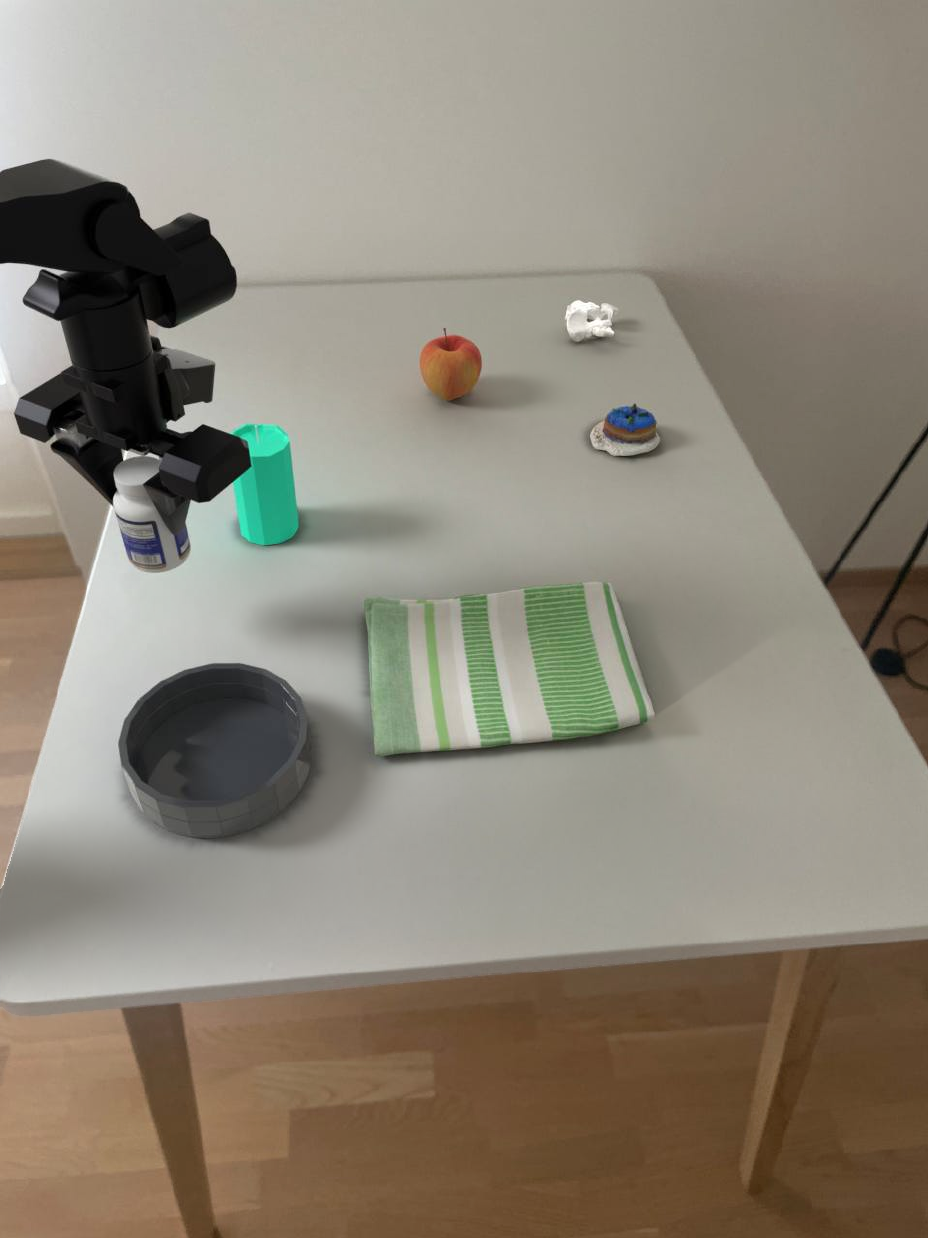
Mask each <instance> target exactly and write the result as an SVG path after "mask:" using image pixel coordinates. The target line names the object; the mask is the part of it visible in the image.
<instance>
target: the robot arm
mask: <svg viewBox="0 0 928 1238" xmlns="http://www.w3.org/2000/svg"><path fill="white" fill-rule="evenodd" d="M4 264H17V265H29V266H34V267H40V268H42V269H40V270H39V272H38V275H37V277H36V280H35V281H34V283H33V284H32V285H31V286H30V287H28V289H27V291H26V292H25V294H24V296H23V297H22V303H23V305H24V306H25V307H27V308H29V309H31V310H33V311H36V312H38V313H39V314H42V315H44V316H46V317H48V318H50V319H52V320H54V321H56V322H60V325H61V329H62V333H63V337H64V340H65V344H66V346H67V350H68V354H69V359H70V362H71V365H70V366H68V367H67V368H65V369H63V370H62V371H60V373H58V374H57V375H55V376H53V377H52V378H50V379H48V380H47V381H45V382H43V383H41V384H39V386H36V387H34V388H33V389H32V390H30V391H29V392H26V393H25V394H23V395H22V396H20V397H19V398H18V401H17V403H16V406H15V409H14V412H13V415H14V419H15V422H16V424H17V428H18V430H19V433H20V434H21V435H22V436H26V437H28V438H31V439H33V440H36V441H38V442H41V443H44V444H46V443H47V442H48V441H49V442H50V440H51V439H52V438H53V437H54V436H55V439H56V440H55V441H53V442H52V443H51V444H50V447H49V448H50V450H51V451H52V453H54V454H55V455H58V456H59V457H60V458H62V459H63V460H64V461H65V462H66V463H67V464H68V465H69V466H70V467H71V468H72V469H73V470H75V472H77V473H78V475H80V476H81V477H82V478H83V479H85V481H86V482H87V483H88V484H90V485H91V486H92V487H93V488H94V490H95V491H97V493H99V494H100V495H101V496H102V497H103V498H104V499H105V500H106V501H107V503H109V504H110V505H111V506H112V507H113V508H114V506H113V498H114V495H115V493H116V491H117V488H116V484H115V480H114V474H113V473H114V469H115V468H116V466H117V465H118V464H119V463H121V462H122V461H124V460H125V459H124V456H123V451H126V452H130V453H134V454H136V455H138V456H148V454H151V455H154V456H157V457H158V460H159V461H160V467H159V472H158V473H157V474H155V475H154V476H153V477H151V478H150V479H149V480H147V481H146V482H145V483H144V484H143V486H144V488H145V490H146V492H147V493H148V495H149V497H150V499H151V500H152V502H153V504H154V505H155V507H156V509H157V511H158V512H159V514H160V516H161V518H162V520H163V521H164V523H165V525H166V526H167V527H168V529H169V530H170V532H171V533H172V534H174V535H177V534H178V533H180V532H181V531H182V530H183V529H184V526H185V522H186V521H187V517H188V514H189V509H190V505H191V501H192V502H195V503H196V504H197V503H198V504H202V503H209V502H211V501H213V500H214V499H215V498H216V497H217V496H218V495H220V494H221V493H222V492H223V491H224V490H225V489H227V488H228V487H229V486H230V485H232V484H233V482H234V481H235V480H236V479H237V478H239V477H240V476H241V475H242V474H243V473H245V472H246V471H247V470H248V469H249V468H251V467H252V466H251V459H250V452H249V447H248V442H247V441H246V440H244V439H242V438H240V437H238V436H235V435H232V434H231V432H230V433H229V432H226V431H225V430H221V429H219V428H215V427H213V426H210V425H207V424H205V423H202V424H201V425H200V426H198V427H196V428H195V429H194V430H192V431H185V432H179V431H176V430H173V429H170V428H168V424H167V423H169V422H170V421H172V422H175V423H176V422H177V421H179V420H181V418H183V417H184V416H186V411H185V406H189V405H194V404H199V403H204V404H210V403H212V402H213V398H214V385H215V375H216V362H215V361H214V360H211V359H208V358H205V357H203V356H200V355H196V354H193V353H190V352H187V351H184V350H181V349H176V348H172V347H167V346H164V345H162V343H161V340H160V338H159V337H158V336H156V335H153V334H150V329H149V325H148V321H151V322H153V323H154V324H156V325H157V326H159V327H161V328H163V329H173V328H176V327H178V326H181V325H182V324H184V323H186V322H189V321H190V320H192V319H194V318H196V317H199V316H201V315H203V314H204V313H207V312H209V311H211V310H212V309H215V308H217V307H219V306H221V305H223V304H225V303H227V302H229V301H230V300H231V299H232V298H234V295H235V294H236V291H237V287H238V277H237V271H236V268H235V266H233V265H232V262H231V259H230V256H229V255H228V253H227V251H226V249H225V248H224V247H223V245H222V244H221V242H219V240H218V239H217V237H215V236H214V235H213V234H212V229H211V223H210V220H209V219H208V218H205V217H204V216H200V215H197V214H195V213H193V212H186V213H184V214H181V215H179V216H177V217H176V218H175V219H173V220H172V221H170V222H169V223H166V224H164V225H162V226H159V227H156V228H154V229H153V228H152V227H151V226H150V225H149V224H148V223H147V222H146V221H145V220H144V219H143V218H142V216H141V209H140V207H139V205H138V203H137V200H136V198H135V197H134V195H133V194H132V193H131V192H130V190H129V189H128V187H127V186H126V185H124V184H122V183H120V182H118V181H115V180H113V179H110V178H107V177H105V176H102V175H100V174H97V173H94V172H91V171H89V170H87V169H84V168H81V167H79V166H76V165H73V164H70V163H69V162H68V163H67V162H65V161H62V160H59V159H54V158H45V159H39V160H36V161H32V162H28V163H24V164H20V165H16V166H13V167H8V168H5V169H2V170H1V171H0V265H4ZM45 268H46V269H45ZM47 269H51V270H57V271H61V272H63V273H61V274H57V273H54V272H52V271H50V270H47ZM186 523H187V522H186Z"/></svg>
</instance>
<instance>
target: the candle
mask: <svg viewBox="0 0 928 1238" xmlns="http://www.w3.org/2000/svg"><path fill="white" fill-rule="evenodd" d="M230 434H232V435H235V436H238V437H240V438H242V439H244V440H246V441H247V442H248V447H249V452H250V459H251V466H252V467H251V468H249V469H248V470H247V471H246V472H245V473H243V474H242V475H241V476H240V477H239V478H237V479H236V480H235V481H234V482H233V483H232V486H233V492H234V498H235V504H236V511H237V517H238V523H239V529H240V535H241V536H242V537H243V538H245V540H247V541H248V542H249V543H253V544H257V545H261V546H269V545H277V544H282V543H284V542H286V541H288V540H290V539H291V538H294V536H295V534H296V533H297V531H298V530H299V528H300V524H299V514H298V505H297V496H296V495H297V494H296V487H295V478H294V477H295V476H294V469H293V468H294V466H293V460H292V448H291V441H290V437H289V434H288V433H286V431H285V430H283V428H282V427H281V426H279V425H278V424H261V423H244V424H242V425H241V426H239V427H237V428H235V429H233V430H232V431H231V432H230Z"/></svg>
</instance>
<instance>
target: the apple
mask: <svg viewBox="0 0 928 1238" xmlns="http://www.w3.org/2000/svg"><path fill="white" fill-rule="evenodd" d="M442 329H443V332H444V335H443V336H440V337H436V338H434V339H432V340H430V341H428V342H427V343H426V344H425V345H424V346H423V347H422V350H421V351H420V356H419V370H420V371H419V372H420V374H421V377H422V380H423V382H424V384H425V386H426V387H427V388H428V389H429V391H431V392H432V393H434V394H435V395H437V396H438V397H440V398H442V399H444V400H445V401H447V402H451V401H453V400H455V399H457V398H460V397H462V396H466V395H467V394H468V393H469V392H470V391H472V390H473V389H474V388H475V386H476V384H477V383H478V381H479V378H480V375H481V373H482V367H483V360H482V354H481V351H480V349H479V347H478V346H477V345H476V344H475V343H474V342H473V341H472V340H470V339H468V338H466V337H464V336H462V335H457V334H447V328H446V327H443V328H442Z"/></svg>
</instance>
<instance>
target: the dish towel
mask: <svg viewBox="0 0 928 1238" xmlns="http://www.w3.org/2000/svg"><path fill="white" fill-rule="evenodd" d="M363 611H364V616H365V624H366V630H367V647H368V671H369V672H368V673H369V691H370V693H369V694H370V705H371V706H370V707H371V716H372V717H371V718H372V730H373V733H372V734H373V745H374V746H373V747H374V756H376V757H378V756H381V757H386V756H392V755H393V756H394V755H398V754H408V753H409V754H410V753H424V752H436V751H437V752H439V751H440V752H442V751H443V752H444V751H456V750H470V749H471V750H472V749H483V748H493V747H494V748H495V747H499V746H505V745H507V746H508V745H514V744H515V745H516V744H517V745H518V744H521V745H522V744H532V743H533V744H535V743H542V742H555V741H565V740H571V739H577V738H584V737H592V736H598V735H599V736H600V735H602V734H605V733H611V732H614V731H618V730H620V729H624V728H628V727H631V726H633V727H634V726H636V725H641V724H644V723H647V722H649V721H650V720H652V719H654V718H655V717H656V713H655V710H654V707H653V703H652V700H651V697H650V696H649V693H648V690H647V687H646V684H645V681H644V677H643V675H642V672H641V668H640V665H639V663H638V659H637V656H636V653H635V649H634V647H633V643H632V641H631V637H630V634H629V631H628V628H627V625H626V621H625V619H624V616H623V612H622V609H621V605H620V603H619V601H618V599H617V596H616V593H615V591H614V589H613V585H612V584H611V582H600V581H588V582H578V583H577V582H576V583H564V584H552V585H544V586H535V587H526V588H522V589H521V588H520V589H514V590H507V591H501V592H494V593H486V594H482V593H476V594H465V595H461V596H456V597H453V598H446V599H445V598H444V599H400V598H393V597H385V596H367V597H365V598H364V600H363Z"/></svg>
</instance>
